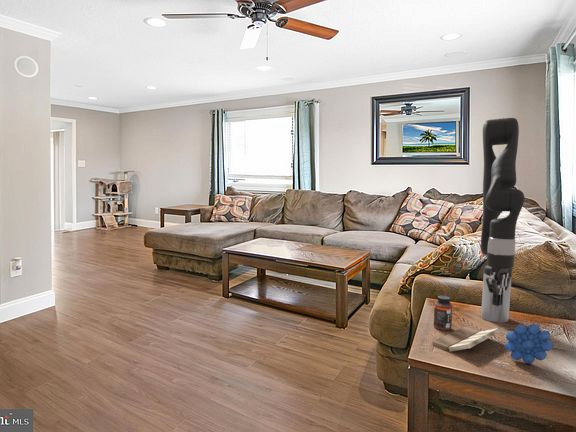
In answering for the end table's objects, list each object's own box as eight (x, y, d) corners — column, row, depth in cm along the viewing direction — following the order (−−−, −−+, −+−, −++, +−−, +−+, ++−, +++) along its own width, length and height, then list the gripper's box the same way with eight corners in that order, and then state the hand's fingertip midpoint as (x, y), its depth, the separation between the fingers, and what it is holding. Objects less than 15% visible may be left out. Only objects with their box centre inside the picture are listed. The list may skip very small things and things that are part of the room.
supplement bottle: (453, 331, 126) (454, 300, 125) (435, 330, 128) (436, 299, 127) (449, 325, 132) (450, 295, 131) (431, 323, 133) (433, 294, 132)
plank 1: (465, 343, 118) (464, 339, 118) (485, 339, 112) (484, 335, 113) (449, 351, 112) (447, 347, 112) (469, 348, 106) (468, 344, 107)
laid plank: (464, 329, 128) (464, 326, 128) (479, 334, 124) (480, 331, 124) (432, 344, 116) (432, 341, 116) (448, 351, 112) (448, 347, 112)
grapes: (549, 362, 106) (552, 322, 104) (552, 372, 100) (555, 330, 99) (503, 352, 112) (505, 314, 110) (503, 361, 106) (506, 322, 105)
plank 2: (481, 335, 124) (479, 331, 124) (501, 331, 119) (499, 327, 119) (466, 342, 118) (465, 339, 118) (486, 339, 113) (484, 335, 113)
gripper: (497, 247, 122) (494, 297, 123) (478, 252, 114) (475, 305, 115) (522, 251, 116) (518, 303, 117) (504, 256, 108) (500, 312, 109)
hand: (497, 304), depth 116 cm, fingers closed
